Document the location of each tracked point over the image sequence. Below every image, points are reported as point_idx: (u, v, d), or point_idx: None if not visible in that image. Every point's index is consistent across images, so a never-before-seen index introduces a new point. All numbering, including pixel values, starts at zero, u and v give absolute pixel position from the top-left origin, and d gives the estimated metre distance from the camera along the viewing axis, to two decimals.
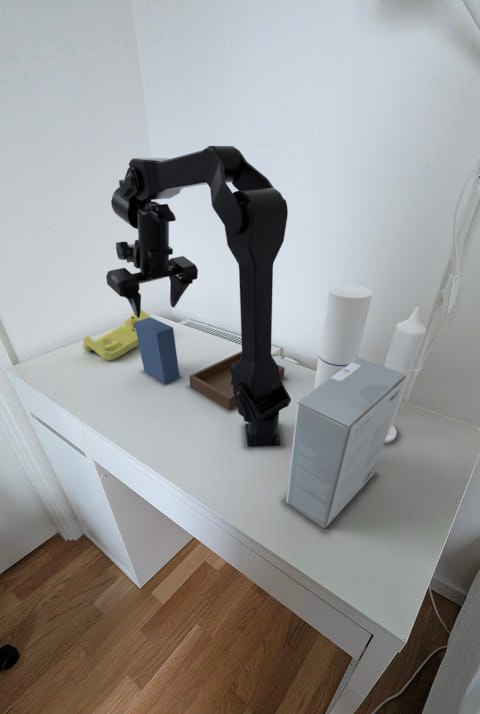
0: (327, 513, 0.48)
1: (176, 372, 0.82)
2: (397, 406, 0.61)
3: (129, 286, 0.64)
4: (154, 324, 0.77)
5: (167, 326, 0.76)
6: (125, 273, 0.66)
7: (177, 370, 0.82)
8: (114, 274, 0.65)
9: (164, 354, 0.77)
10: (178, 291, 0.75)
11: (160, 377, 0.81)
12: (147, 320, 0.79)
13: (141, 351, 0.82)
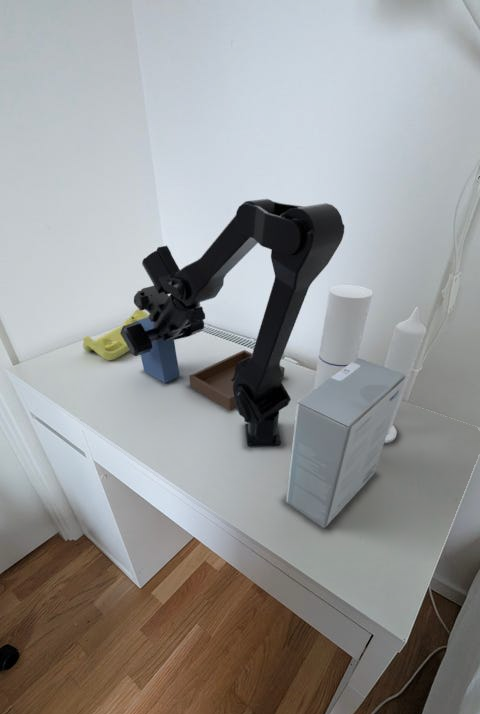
0: (327, 512, 0.48)
1: (176, 371, 0.82)
2: (397, 406, 0.61)
3: (143, 350, 0.70)
4: (153, 323, 0.77)
5: None
6: (141, 333, 0.69)
7: (177, 369, 0.82)
8: (131, 334, 0.68)
9: (163, 352, 0.77)
10: (180, 336, 0.80)
11: (160, 376, 0.81)
12: (145, 319, 0.79)
13: None
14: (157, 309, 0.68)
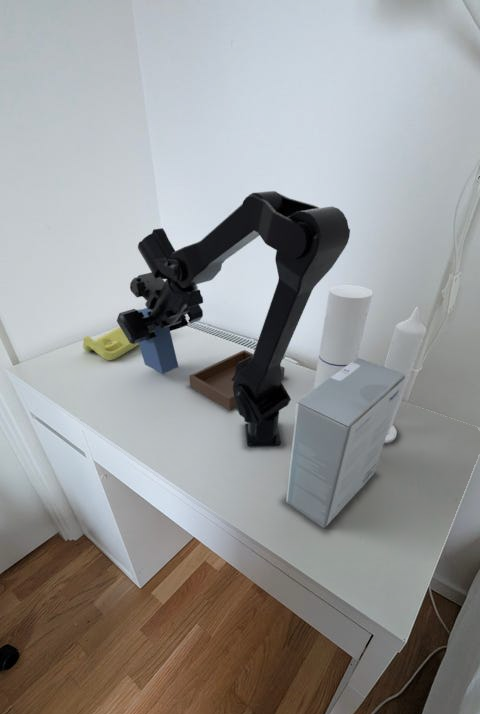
0: (327, 512, 0.48)
1: (174, 361, 0.80)
2: (397, 406, 0.61)
3: (141, 337, 0.68)
4: None
5: None
6: (138, 320, 0.68)
7: (175, 359, 0.80)
8: (128, 321, 0.66)
9: (159, 341, 0.76)
10: (171, 328, 0.77)
11: (158, 367, 0.80)
12: (142, 310, 0.78)
13: (139, 343, 0.82)
14: (154, 295, 0.67)
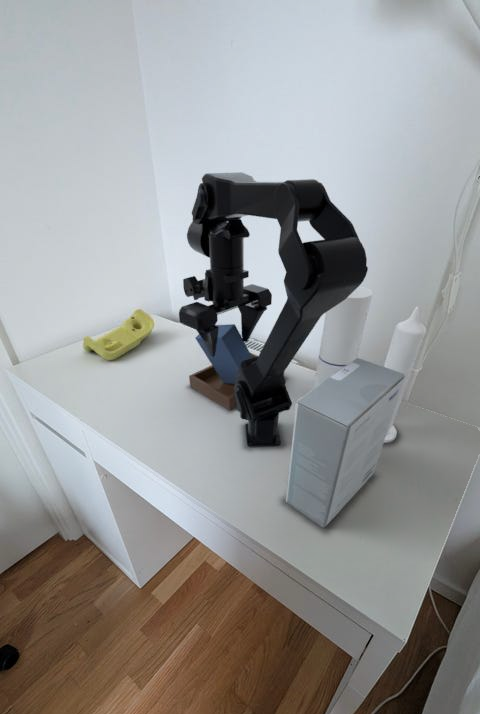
0: (326, 512, 0.48)
1: None
2: (397, 406, 0.61)
3: (207, 317, 0.56)
4: None
5: (228, 325, 0.69)
6: (200, 306, 0.58)
7: None
8: (189, 308, 0.57)
9: (237, 355, 0.70)
10: (252, 321, 0.66)
11: None
12: None
13: (213, 363, 0.77)
14: (207, 276, 0.59)
